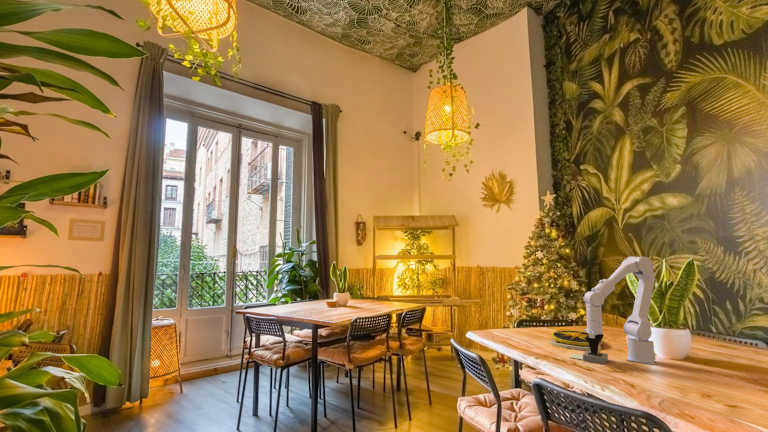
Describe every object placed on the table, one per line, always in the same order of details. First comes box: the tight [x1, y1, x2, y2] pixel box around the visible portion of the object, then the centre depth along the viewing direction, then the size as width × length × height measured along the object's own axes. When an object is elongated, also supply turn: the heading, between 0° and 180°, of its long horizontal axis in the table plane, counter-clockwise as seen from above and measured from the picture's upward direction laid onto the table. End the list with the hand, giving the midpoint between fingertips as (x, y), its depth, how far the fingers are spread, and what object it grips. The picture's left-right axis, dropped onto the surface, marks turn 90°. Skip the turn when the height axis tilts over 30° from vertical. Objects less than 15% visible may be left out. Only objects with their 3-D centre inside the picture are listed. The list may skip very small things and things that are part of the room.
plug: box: [590, 341, 602, 357], centre depth 165 cm, size 4×4×8 cm
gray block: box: [582, 351, 609, 365], centre depth 164 cm, size 8×9×2 cm
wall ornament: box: [549, 329, 604, 352], centre depth 194 cm, size 23×5×30 cm
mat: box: [568, 353, 583, 361], centre depth 168 cm, size 5×7×1 cm
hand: (595, 352), depth 164 cm, fingers open, 5 cm apart
